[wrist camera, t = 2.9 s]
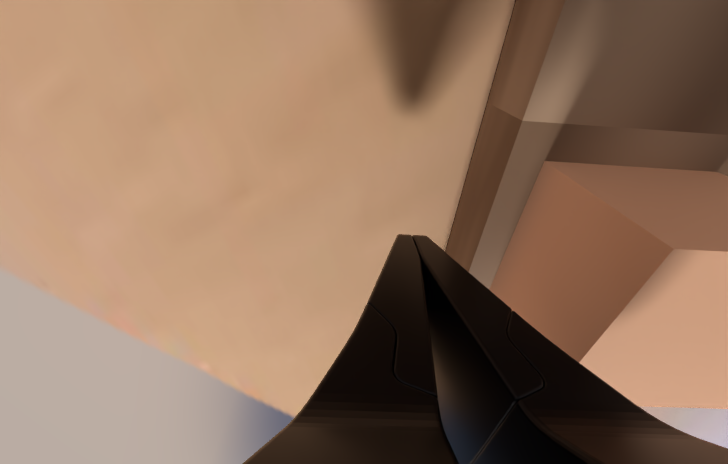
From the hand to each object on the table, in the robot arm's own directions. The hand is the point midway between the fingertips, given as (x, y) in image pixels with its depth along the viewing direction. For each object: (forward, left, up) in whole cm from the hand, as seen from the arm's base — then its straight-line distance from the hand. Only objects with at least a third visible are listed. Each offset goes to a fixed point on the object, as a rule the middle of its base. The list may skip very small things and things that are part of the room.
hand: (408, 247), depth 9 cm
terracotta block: (-6, 0, -1) cm, 6 cm away
